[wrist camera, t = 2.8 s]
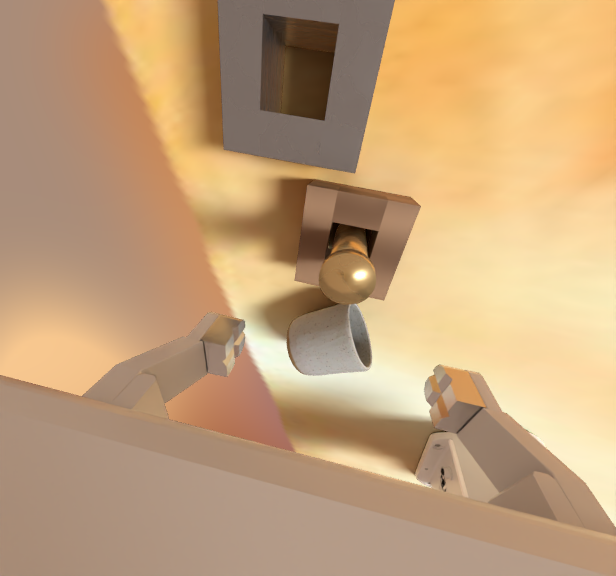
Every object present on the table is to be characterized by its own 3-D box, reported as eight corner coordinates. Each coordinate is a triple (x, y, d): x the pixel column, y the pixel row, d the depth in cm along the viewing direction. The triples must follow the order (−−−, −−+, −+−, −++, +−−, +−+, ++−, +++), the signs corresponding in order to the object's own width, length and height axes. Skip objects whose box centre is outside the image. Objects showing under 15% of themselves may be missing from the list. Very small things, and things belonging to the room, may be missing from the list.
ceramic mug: (291, 307, 30) (273, 351, 24) (350, 287, 27) (348, 332, 21) (325, 361, 35) (318, 411, 28) (380, 350, 32) (386, 403, 25)
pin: (363, 254, 25) (367, 309, 16) (328, 247, 25) (314, 298, 17) (374, 219, 23) (384, 261, 14) (336, 212, 23) (323, 249, 15)
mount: (380, 280, 26) (383, 300, 23) (302, 263, 27) (294, 280, 24) (410, 197, 21) (420, 206, 18) (315, 179, 22) (307, 184, 19)
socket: (355, 168, 21) (355, 173, 17) (249, 149, 22) (223, 149, 18) (393, 4, 16) (405, -49, 12) (251, -14, 17) (214, -70, 12)
